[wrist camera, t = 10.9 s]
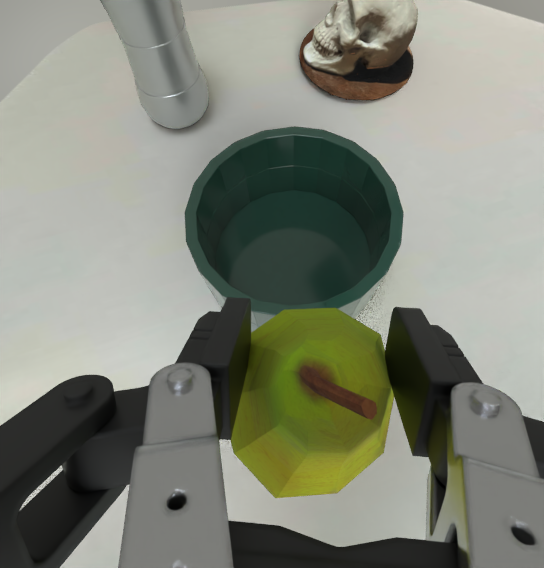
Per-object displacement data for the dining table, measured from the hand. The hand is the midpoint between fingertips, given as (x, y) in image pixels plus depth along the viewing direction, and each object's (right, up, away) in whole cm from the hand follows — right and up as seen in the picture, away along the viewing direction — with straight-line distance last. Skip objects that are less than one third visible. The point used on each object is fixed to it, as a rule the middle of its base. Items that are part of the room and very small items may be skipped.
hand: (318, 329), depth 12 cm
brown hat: (+7, +25, +28) cm, 39 cm away
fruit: (0, -4, +5) cm, 6 cm away
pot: (0, +4, +20) cm, 21 cm away
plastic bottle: (-11, +19, +27) cm, 35 cm away
